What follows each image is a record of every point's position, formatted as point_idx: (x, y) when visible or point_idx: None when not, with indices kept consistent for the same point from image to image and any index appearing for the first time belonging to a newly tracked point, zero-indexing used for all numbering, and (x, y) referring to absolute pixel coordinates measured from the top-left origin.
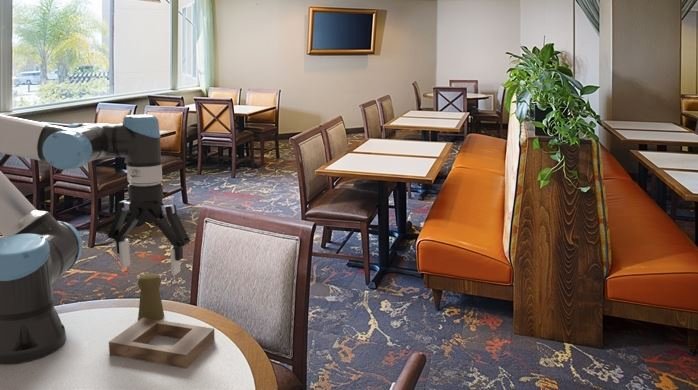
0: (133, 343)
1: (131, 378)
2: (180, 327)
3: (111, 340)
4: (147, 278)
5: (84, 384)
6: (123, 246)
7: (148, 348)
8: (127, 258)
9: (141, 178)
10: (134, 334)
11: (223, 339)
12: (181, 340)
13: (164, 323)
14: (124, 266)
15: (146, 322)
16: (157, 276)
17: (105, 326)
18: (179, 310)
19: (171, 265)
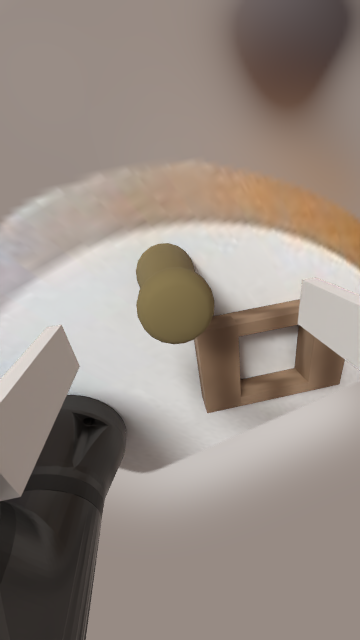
0: (246, 399)
1: (267, 412)
2: (290, 325)
3: (208, 409)
4: (190, 335)
5: (224, 440)
6: (30, 451)
7: (277, 397)
8: (53, 362)
9: None
10: (228, 382)
11: (350, 279)
12: (315, 359)
13: (254, 331)
14: (74, 364)
15: (217, 344)
16: (207, 302)
17: (116, 345)
18: (200, 208)
19: (326, 343)
